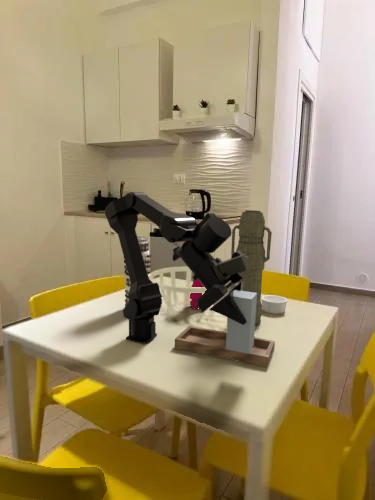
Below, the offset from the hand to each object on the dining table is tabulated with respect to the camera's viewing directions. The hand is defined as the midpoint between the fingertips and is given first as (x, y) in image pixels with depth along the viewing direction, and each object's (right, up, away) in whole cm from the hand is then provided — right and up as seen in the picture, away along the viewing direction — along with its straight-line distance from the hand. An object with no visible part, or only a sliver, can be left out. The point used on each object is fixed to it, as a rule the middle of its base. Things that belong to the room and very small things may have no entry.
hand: (248, 319), depth 75 cm
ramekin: (+17, -6, +47) cm, 50 cm away
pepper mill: (-9, -5, +49) cm, 50 cm away
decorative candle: (-30, -6, +44) cm, 54 cm away
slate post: (-1, -6, +2) cm, 7 cm away
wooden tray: (-3, -11, +15) cm, 19 cm away
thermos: (+6, -8, +35) cm, 37 cm away
